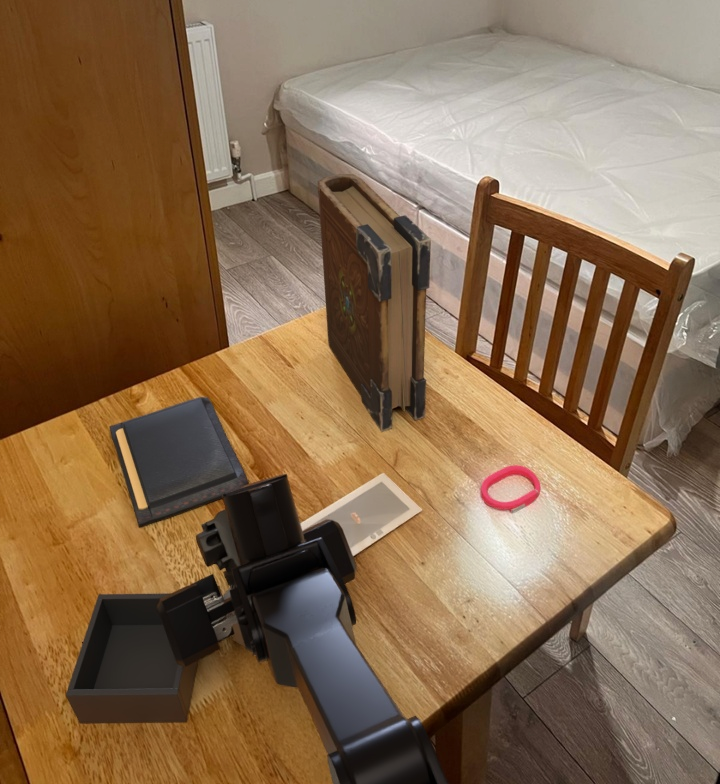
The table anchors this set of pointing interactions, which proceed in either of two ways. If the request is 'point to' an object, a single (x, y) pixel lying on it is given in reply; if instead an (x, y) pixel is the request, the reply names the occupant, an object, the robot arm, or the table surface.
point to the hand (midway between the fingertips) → (244, 578)
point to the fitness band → (517, 503)
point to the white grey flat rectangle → (368, 512)
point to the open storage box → (129, 666)
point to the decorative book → (375, 295)
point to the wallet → (176, 460)
